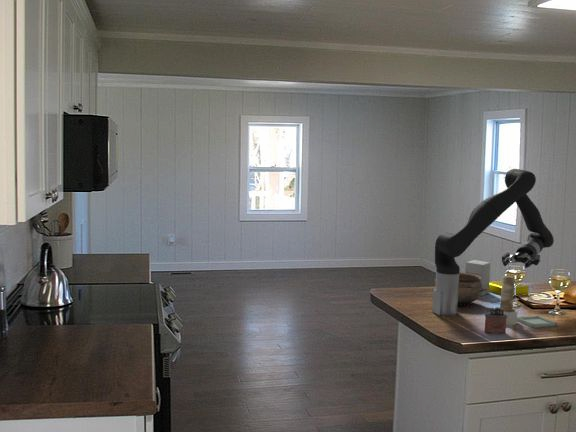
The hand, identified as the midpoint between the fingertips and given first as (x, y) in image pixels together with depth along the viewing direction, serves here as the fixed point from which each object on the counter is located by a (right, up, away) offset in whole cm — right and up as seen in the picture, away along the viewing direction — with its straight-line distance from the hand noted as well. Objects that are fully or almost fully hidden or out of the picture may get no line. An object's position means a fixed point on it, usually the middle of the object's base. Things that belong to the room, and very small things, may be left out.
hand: (515, 264), depth 259 cm
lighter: (-15, -24, -20) cm, 35 cm away
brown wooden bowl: (-16, -19, +25) cm, 35 cm away
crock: (-6, -23, -5) cm, 24 cm away
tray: (+6, -23, -6) cm, 25 cm away
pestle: (-6, -22, -5) cm, 23 cm away
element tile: (+13, -17, +49) cm, 54 cm away
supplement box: (-2, -17, +46) cm, 49 cm away
